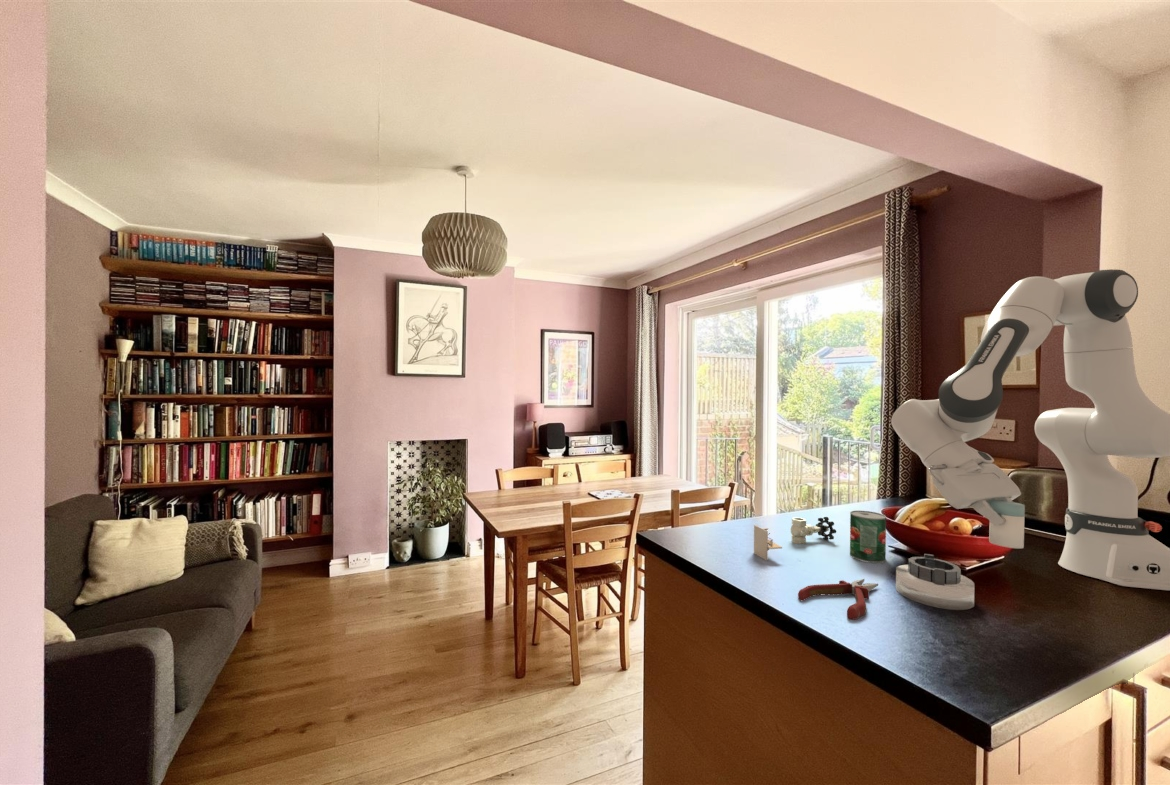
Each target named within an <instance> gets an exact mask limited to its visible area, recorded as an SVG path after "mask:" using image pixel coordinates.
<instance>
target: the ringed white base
mask: <svg viewBox="0 0 1170 785" xmlns="http://www.w3.org/2000/svg"><path fill="white" fill-rule="evenodd" d="M961 570H962V568H960V566H958V565H957V564H955V563H952V562H950V561H946V560H943V559H938V558H935V555H934V554H930V553H924V554H923V556H912V557H910V558H907V564H902V565H898V566H896V567H895V590H896V592H898V594H900V595H902V596H903V597H905V598H907V599H909V600H912V601H913V602H917V603H919V604H923V605H926V606H929V607H933V608H938V609H945V610H951V611H965V610H970V609H972V608H974V607H975V582H974V581H973V580H972V579H971V578H968V577H967V576H965V575H963V574H962V571H961Z"/></svg>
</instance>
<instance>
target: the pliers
mask: <svg viewBox="0 0 1170 785" xmlns="http://www.w3.org/2000/svg"><path fill="white" fill-rule="evenodd" d="M864 582H865V578H861V579H858V580H854V581H852V582H847V581H846V580H844V579H843V580H839V581H838V583H826V584H825V583H823V584H812V585H811V584H809V585H807V586H805V587H803V588H800V589H799V590H798V593H797V598H798V600H799V599H800V600H799V601H801V600H803V601H805V600H807V599H808V597H809V598H811V597H814V596H813V595H816V596H822V595H821V594H825V595H824V596H831V595H833V594H834V595H835V596H836V595H837V594H839V595H854V598H855V602H856V603H853V604H851V605H849V606H848V607H847V609H846V617H847V619H849V620H857V619H859V618H861V617H862V616H864V615H865V614H866V612H867V603H866V601H865V600H869V599H870V598H869V597H870V594H869V592H871V591H872V590H874V589H875V588H877V587H878V586H879V583H875V582H874V583H873V582H868V583H864ZM828 594H830V595H828ZM834 595H833V596H834ZM810 596H811V597H810ZM837 596H838V595H837ZM806 598H807V599H806ZM804 599H805V600H804Z"/></svg>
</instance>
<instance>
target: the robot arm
mask: <svg viewBox="0 0 1170 785" xmlns="http://www.w3.org/2000/svg"><path fill="white" fill-rule="evenodd" d="M1138 296H1139V287H1138V282H1137V281H1136V279H1135V278H1134V277H1133V276H1132V275H1131V274H1130V273H1129V272H1126V271H1125V270H1123V269H1099V270H1097V271H1093V272H1084V273H1083V272H1082V273H1075V274H1072V275H1071V274H1070V275H1064V276H1062V277H1059V278H1055V279H1052V278H1050V277H1046V276H1028V277H1025V278H1022V279H1020V280H1017V282H1015V283H1014V284H1013V285H1012V286H1011V287H1010V288H1009V289H1008V290H1007V291H1006V292H1005V294H1003V296H1001V298H1000V299H999V301H998V302H997V304H996V305H995V306H994V308H993V309H992V311H991V312H990V314H989V316H988V318H987V319H986V322H985V323H984V326H983V329H982V333H981V335H980V343H979V344H978V346H977V348H976V349H975V351H974V352H973V354H972V355H971V357H970V358H969V360H968V362H966V364H965V365H964V366H962V367H961V368H960V369H958V371H956V372H954V373H953V374H951V375H949V376H948V377H947V378H945V380H944V381H943V382H942V383H941V385H940V386H939V388H938V398H937V399H927V400H926V399H925V400H924V399H923V400H922V399H916V398H911V399H909V400H906V401H905V402H903V403H901V404H900V405H899V406H898V407H897V408H896V409H895V411H894V412H893V413H892V415H891V422H890V423H891V426H892V428H893V430H894V432H895V433H896V434H897V435H898V437H899V438H900V439H901V441H902V442H903V443H904V444H905V446H906V447H908V449H910V451H912V452H913V453H915V454H916V455H917V456H918V457H919V458H920V460H921V462H922V464H923V465H924V467H926V468H927V469H928V473H929V475H930V476H931V477H932V478H931V482H932V484H933V485H934V486H935V489H936V490H937V491H938V492H939V493H940V495H941V496H942V497H943V498H944V500H945V501H946V502H947V503H948V504H949V505H950V506H951V507H953V508H954V509H956V510H959V509H960V510H961V509H968V508H973V510H975V511H976V512H977V513H979V514H980V515H981V516H983V517H984V518H986V519H987V520H988V521H989V523H990V522H991V523H992V524H993V525H995V526H997V525H1001V524H1003V523H1005V522H1006V519H1005V518H1004V517H1003V516H1002V515H1001V514H1000V513H997V512H995V511H994V510H993V509H992V508H990V501H991V500H1001V501H1009V502H1014V501H1013V500H1015V499H1017V498H1018V497H1020V496H1021V495H1022V492H1021V490H1020V487H1019V486H1018V485H1017V484H1016V483H1015V482H1014V481H1013V480H1012V478H1010V477H1009V476H1008V474H1006V472H1005V471H1003V469H1002V468H1000V467H999V466H998V465H996V464H995V463H994V462H995V459H994V458H993V457H992V456H991V455H990V454H989V453H986V452H983V451H979V450H977V449H975V448H973V447H972V446H969V445H968V444H967V442H970V441H973V440H976V439H979V438H981V437H983V436H985V435H987V434H988V432H989V431H990V430H991V428H992V427H993V424H994V422H995V419H996V415H997V413H998V409H999V407H1000V405H1001V404H1002V402H1003V397H1004V390H1003V389H1004V388H1003V381H1002V380H1003V377H1004V375H1005V374H1006V373H1007V370H1008V368H1009V367H1010V365H1011V363H1012V362H1013V360H1014V359H1015V358H1017V357H1025V356H1027V355H1031V354H1033V353H1034V352H1036V350H1037V349H1038V348H1039V347H1040V346H1041V345H1042V344H1043V342H1044V341H1045V340H1046V339H1047V337H1048V336H1049V335H1050V333H1051V330H1052V329H1053V327H1056V326H1064V331H1063V332H1064V333H1063V346H1062V347H1063V359H1064V374H1065V375H1064V376H1065V381H1066V384H1067V385H1068V386H1069V387H1070V388H1071V389H1073V390H1074V391H1077V392H1078V393H1079V392H1080V393H1082V394H1084V395H1085V396H1087V397H1088V399H1090V400H1091V402H1092V403H1093V404H1094V407H1092V408H1091V407H1064V408H1056V409H1049V410H1046V411H1044V412H1042V413H1041V414H1040V415H1039V416H1038V417H1037V419H1036V420H1035V423H1034V433H1035V437H1036V438H1037V440H1038V441H1039V443H1042V445H1044V446H1045V447H1047V448H1048V449H1049V450H1050V451H1051V452H1052V453H1054V455H1055V456H1056V457H1057V459H1058V461H1059V462H1060V463H1061V465H1062V467H1063V469H1064V472H1065V475H1066V480H1067V496H1068V503H1067V507H1066V508H1065V515H1064V526H1065V527H1064V528H1065V531H1066V536H1065V542H1064V545H1063V549H1062V553H1061V555H1060V558H1059V560H1058V562H1057V564H1058V565H1059V566H1060V567H1062V568H1063V569H1066V570H1068V571H1070V572H1074V573H1076V574H1078V575H1083V576H1086V577H1091V578H1094V579H1099V580H1101V581H1105V582H1109V583H1111V584H1114V585H1117V586H1121V587H1130V588H1141V589H1149V590H1150V589H1151V590H1161V591H1170V547H1168V546H1166V545H1165V544H1163V543H1162V542H1160V541H1159V540H1157V539H1156V538H1154V537H1153V536H1151V535H1150V534H1149V531H1151V532H1153V533H1159V532H1161V531H1162V529H1163V527H1162V525H1161V524H1160V523H1158V522H1154V521H1151V520H1150V521H1147V520H1145V519H1143V518H1142V517H1139V516H1138V510H1139V506H1138V505H1139V504H1138V502H1139V487H1138V485H1137V484H1136V481H1134V480H1133V478H1132V477H1130V476H1128V475H1126V474H1125V473H1123V472H1121V471H1119V470H1117V468H1115V466H1113V464H1112V463H1111V461H1110V460H1109V456H1115V457H1126V458H1132V459H1133V458H1134V459H1153V458H1154V459H1155V458H1168V457H1170V413H1169V412H1167V411H1165V410H1164V409H1162V408H1161V407H1159V405H1156V404H1155V403H1154V402H1153V401H1152V400H1151V399H1150V398H1149V397H1148V396H1147V395H1146V393H1145V392H1144V391H1143V390H1142V388H1141V385H1140V384H1139V381H1138V378H1137V373H1136V367H1135V358H1134V349H1133V346H1134V345H1133V338H1132V333H1131V328H1130V324H1129V321H1128V319H1127V316H1126V315H1127V313H1129V311H1131V309H1132V308H1133V307H1134V305H1135V303H1136V302H1137V300H1138Z"/></svg>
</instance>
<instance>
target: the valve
mask: <svg viewBox="0 0 1170 785" xmlns="http://www.w3.org/2000/svg"><path fill="white" fill-rule="evenodd" d="M829 520H830V519H829V517H828V516H824V517H818V518H817V522H818V523H816V524H815V525H813V526H812V525H811V524H807V520H806V519H805V518H802V517H792V518H791V524H792V525H791V527H790V534H791V542H792V544H797V545H807V538H806V537H807V536H810V537H811V536H812V535H814V534H816V533H817V535H818V536H822V540H824V541H829V540H834V539H835V537H834V534H837V529H835V528H833V526H835V522H834V521H829ZM824 523H825V524H827V525H825V524H824ZM826 532H828V533H826Z"/></svg>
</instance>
